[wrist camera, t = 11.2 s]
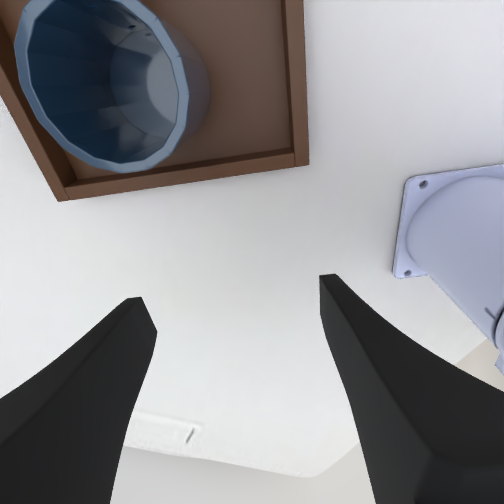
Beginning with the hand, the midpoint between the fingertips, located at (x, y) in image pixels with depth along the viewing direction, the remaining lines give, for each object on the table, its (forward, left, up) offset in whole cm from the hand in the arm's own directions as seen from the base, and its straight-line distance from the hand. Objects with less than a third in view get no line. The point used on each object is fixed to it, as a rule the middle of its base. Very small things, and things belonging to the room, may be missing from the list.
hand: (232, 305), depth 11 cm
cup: (+3, -9, -9) cm, 13 cm away
